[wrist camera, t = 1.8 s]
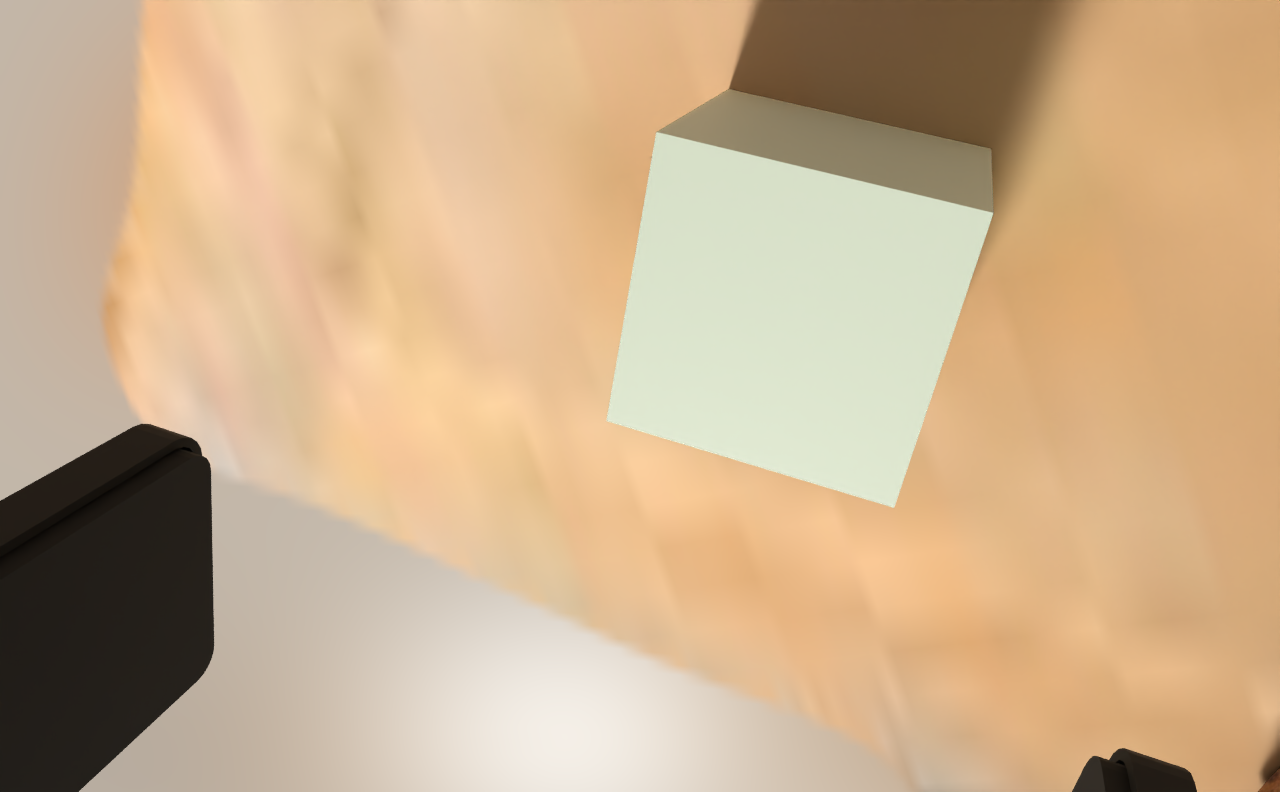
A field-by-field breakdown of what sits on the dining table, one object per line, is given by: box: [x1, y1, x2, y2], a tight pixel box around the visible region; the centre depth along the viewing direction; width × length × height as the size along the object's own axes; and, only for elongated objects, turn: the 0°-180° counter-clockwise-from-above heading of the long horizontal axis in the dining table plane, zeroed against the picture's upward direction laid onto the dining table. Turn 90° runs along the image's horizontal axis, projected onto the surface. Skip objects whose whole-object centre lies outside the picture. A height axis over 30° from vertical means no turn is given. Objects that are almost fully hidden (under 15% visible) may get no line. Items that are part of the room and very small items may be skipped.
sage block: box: [607, 89, 994, 508], centre depth 22 cm, size 6×6×6 cm
